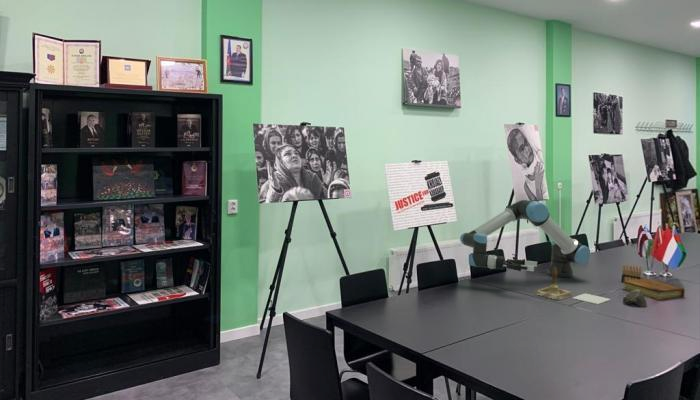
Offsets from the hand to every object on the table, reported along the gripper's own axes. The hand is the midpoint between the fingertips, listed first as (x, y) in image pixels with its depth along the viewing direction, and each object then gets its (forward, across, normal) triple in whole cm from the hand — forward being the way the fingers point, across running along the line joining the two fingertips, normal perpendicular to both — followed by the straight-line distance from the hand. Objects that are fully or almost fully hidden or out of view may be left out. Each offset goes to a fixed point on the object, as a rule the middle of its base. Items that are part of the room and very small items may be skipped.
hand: (535, 266), depth 281 cm
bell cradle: (+10, 0, -15) cm, 18 cm away
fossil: (+48, -4, -15) cm, 51 cm away
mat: (+29, -3, -15) cm, 33 cm away
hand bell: (+10, 0, -16) cm, 19 cm away
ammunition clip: (+49, -52, -15) cm, 73 cm away
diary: (+59, -32, -15) cm, 69 cm away
